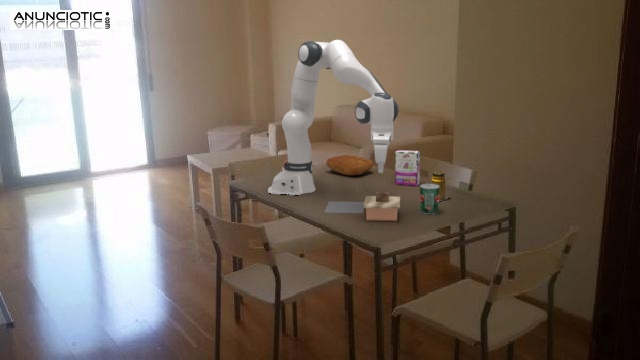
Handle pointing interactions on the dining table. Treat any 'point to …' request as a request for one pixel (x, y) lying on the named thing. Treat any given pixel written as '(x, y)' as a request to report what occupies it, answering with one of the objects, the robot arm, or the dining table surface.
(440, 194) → the condiment
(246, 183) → the dining table surface
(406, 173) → the candy bar box
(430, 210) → the canned tomato
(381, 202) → the lid
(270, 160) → the dining table surface
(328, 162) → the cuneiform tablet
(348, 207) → the mat
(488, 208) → the dining table surface
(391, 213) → the rectangular open box
